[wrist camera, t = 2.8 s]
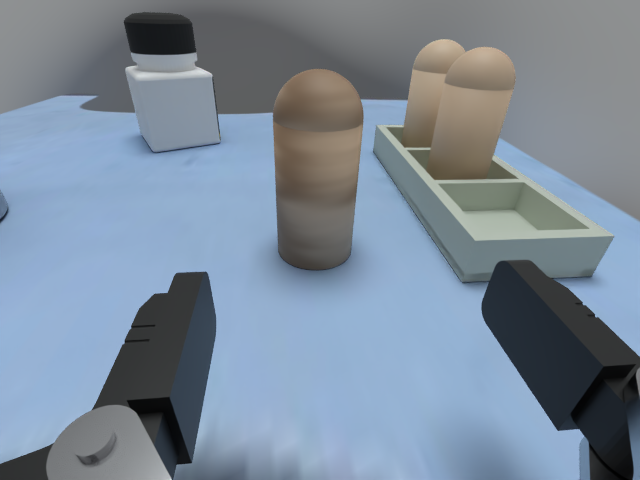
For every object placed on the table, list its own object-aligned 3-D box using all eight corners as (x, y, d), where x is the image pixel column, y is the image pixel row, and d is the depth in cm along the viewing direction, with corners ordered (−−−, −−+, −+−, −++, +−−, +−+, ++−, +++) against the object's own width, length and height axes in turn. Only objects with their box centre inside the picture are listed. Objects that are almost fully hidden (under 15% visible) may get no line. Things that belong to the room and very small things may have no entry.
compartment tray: (591, 276, 21) (707, 73, 15) (461, 282, 20) (529, 69, 14) (444, 150, 39) (469, 37, 33) (373, 151, 38) (386, 35, 32)
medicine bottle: (222, 143, 39) (206, 14, 33) (153, 153, 36) (120, 12, 29) (202, 127, 44) (185, 12, 38) (140, 135, 41) (110, 11, 34)
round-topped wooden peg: (265, 242, 23) (253, 65, 17) (322, 222, 25) (329, 61, 20) (304, 280, 20) (306, 80, 14) (365, 253, 22) (388, 73, 17)
